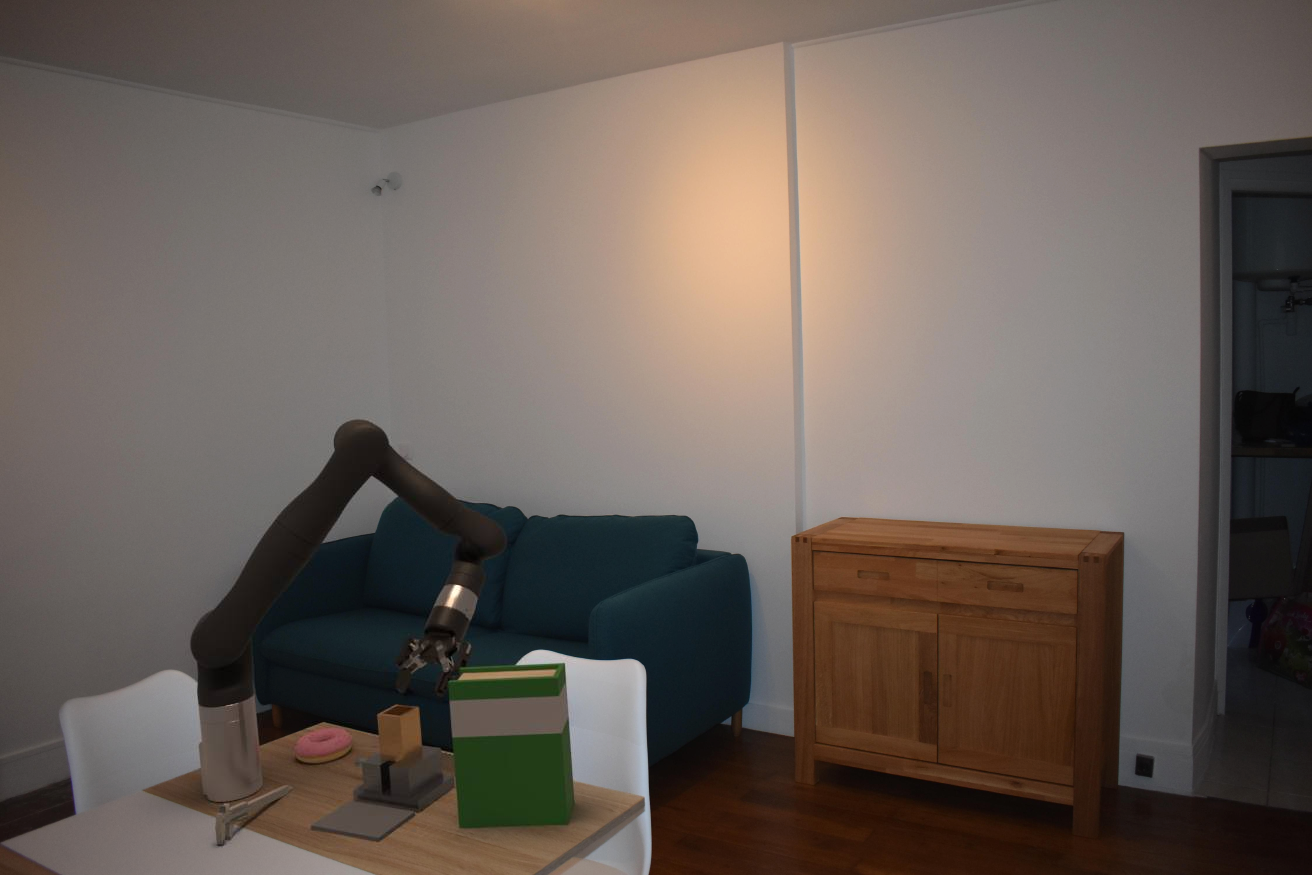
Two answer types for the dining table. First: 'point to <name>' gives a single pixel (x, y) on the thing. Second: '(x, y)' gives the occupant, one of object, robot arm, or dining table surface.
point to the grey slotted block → (403, 781)
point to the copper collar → (399, 733)
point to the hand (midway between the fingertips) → (418, 692)
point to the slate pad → (363, 820)
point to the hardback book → (512, 746)
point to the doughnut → (323, 745)
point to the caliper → (242, 812)
